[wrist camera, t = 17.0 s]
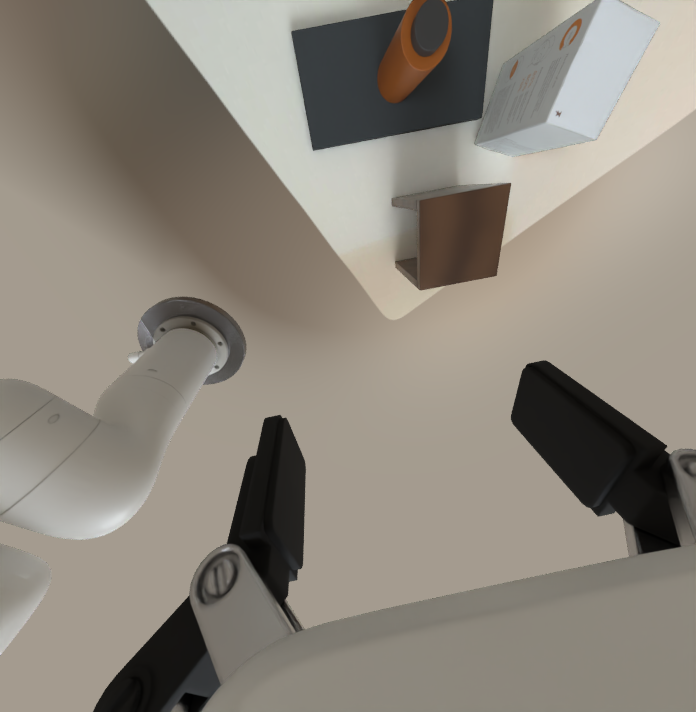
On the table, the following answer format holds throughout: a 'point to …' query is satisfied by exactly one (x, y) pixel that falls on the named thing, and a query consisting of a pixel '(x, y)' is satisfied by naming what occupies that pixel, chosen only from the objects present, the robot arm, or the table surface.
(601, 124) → the small box
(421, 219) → the bronze lidded cube
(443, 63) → the mat
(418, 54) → the spice bottle
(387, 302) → the table surface
